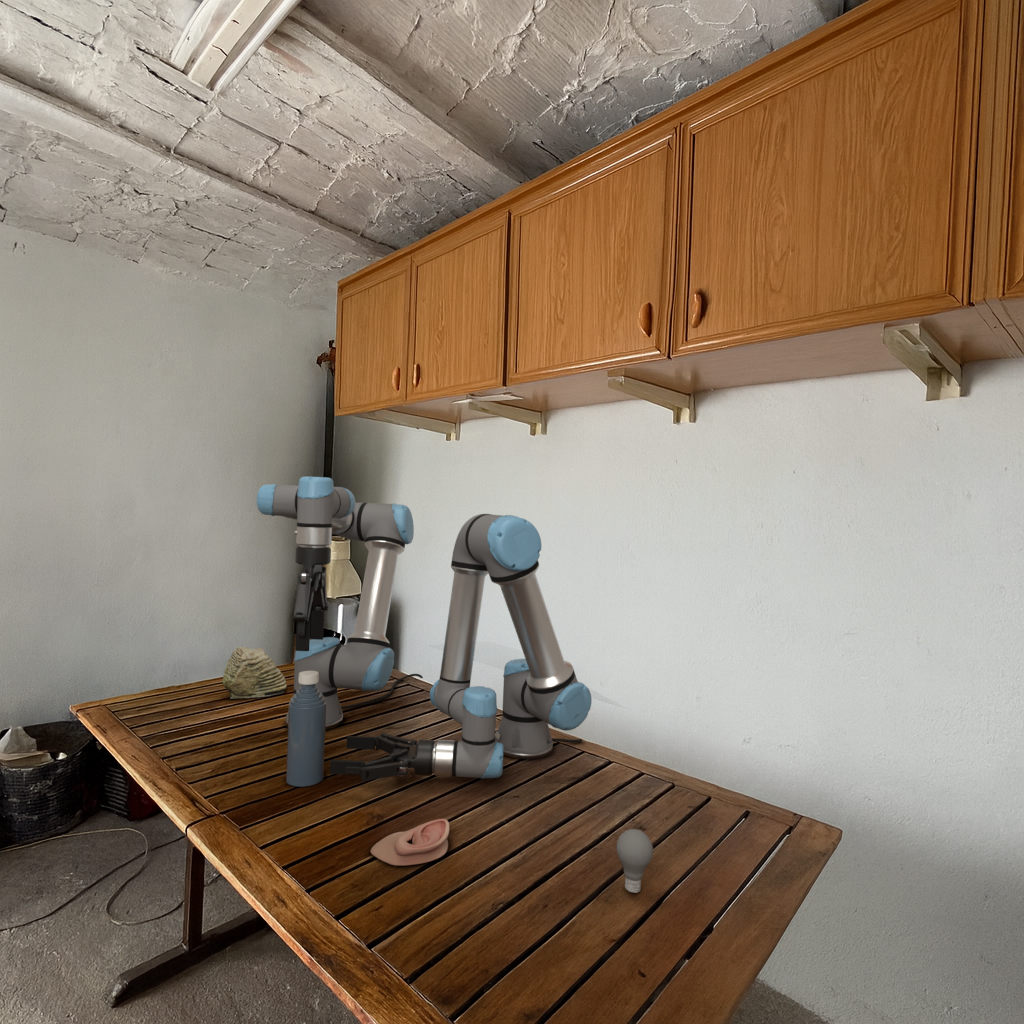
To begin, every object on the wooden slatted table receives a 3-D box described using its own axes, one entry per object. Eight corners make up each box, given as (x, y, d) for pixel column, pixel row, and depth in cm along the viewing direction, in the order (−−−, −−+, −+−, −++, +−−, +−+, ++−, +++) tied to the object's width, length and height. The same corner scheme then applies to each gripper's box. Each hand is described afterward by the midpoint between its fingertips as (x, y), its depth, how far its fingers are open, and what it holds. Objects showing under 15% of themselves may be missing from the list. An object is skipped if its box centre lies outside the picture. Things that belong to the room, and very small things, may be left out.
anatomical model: (363, 838, 111) (389, 807, 122) (362, 860, 111) (388, 827, 122) (436, 849, 108) (455, 817, 119) (435, 872, 108) (454, 838, 119)
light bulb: (610, 879, 108) (613, 822, 108) (644, 879, 109) (647, 822, 109) (619, 902, 102) (622, 840, 102) (655, 901, 103) (658, 840, 103)
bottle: (285, 788, 137) (290, 680, 136) (286, 773, 144) (289, 670, 144) (324, 784, 139) (328, 678, 139) (322, 769, 147) (326, 669, 147)
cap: (298, 685, 139) (298, 676, 139) (298, 679, 143) (298, 671, 143) (319, 684, 140) (319, 675, 140) (318, 678, 144) (318, 670, 144)
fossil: (218, 695, 195) (220, 647, 195) (278, 685, 208) (279, 640, 207) (228, 703, 189) (230, 653, 188) (289, 692, 201) (290, 645, 201)
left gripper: (311, 541, 152) (307, 633, 153) (279, 549, 129) (275, 656, 130) (342, 543, 153) (339, 634, 153) (316, 550, 130) (312, 658, 130)
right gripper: (426, 801, 129) (322, 796, 129) (439, 752, 154) (352, 748, 154) (427, 764, 129) (323, 760, 129) (441, 721, 154) (353, 717, 154)
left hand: (309, 644), depth 141 cm, fingers open, 11 cm apart
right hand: (339, 753), depth 141 cm, fingers open, 13 cm apart
